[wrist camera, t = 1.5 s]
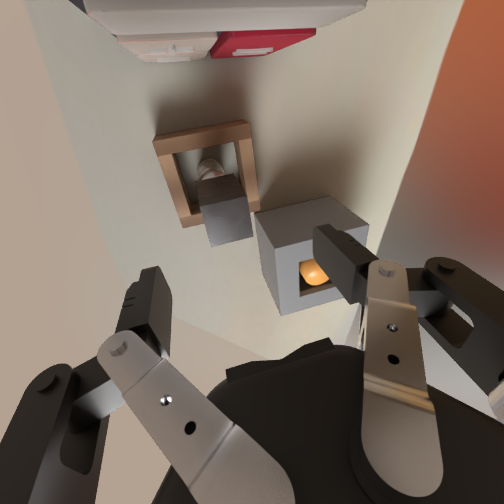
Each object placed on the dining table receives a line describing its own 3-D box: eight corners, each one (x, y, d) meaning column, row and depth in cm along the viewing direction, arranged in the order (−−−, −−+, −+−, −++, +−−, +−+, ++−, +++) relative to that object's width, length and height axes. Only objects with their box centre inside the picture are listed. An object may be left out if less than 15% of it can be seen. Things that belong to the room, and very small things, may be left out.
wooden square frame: (155, 136, 22) (152, 141, 20) (242, 119, 23) (249, 123, 21) (182, 216, 27) (182, 228, 25) (253, 199, 28) (260, 210, 26)
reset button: (287, 240, 29) (304, 264, 25) (315, 233, 30) (336, 255, 26) (289, 263, 31) (304, 288, 27) (314, 256, 32) (333, 280, 28)
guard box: (254, 213, 29) (274, 248, 23) (329, 195, 30) (369, 224, 24) (262, 274, 35) (281, 316, 29) (325, 257, 36) (357, 293, 30)
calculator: (139, 66, 19) (69, 30, 7) (118, -11, 17) (-38, -260, 5) (268, 59, 21) (385, 19, 9) (267, -12, 19) (426, -196, 7)
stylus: (192, 159, 24) (199, 206, 14) (221, 153, 24) (247, 196, 15) (199, 188, 26) (211, 247, 16) (226, 182, 26) (253, 236, 17)
